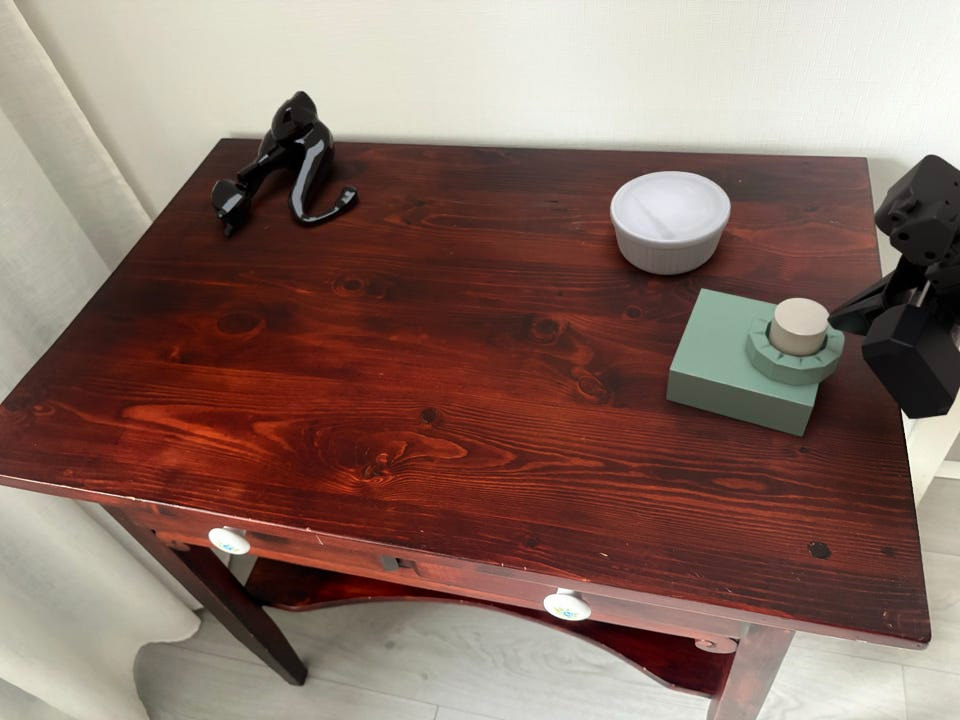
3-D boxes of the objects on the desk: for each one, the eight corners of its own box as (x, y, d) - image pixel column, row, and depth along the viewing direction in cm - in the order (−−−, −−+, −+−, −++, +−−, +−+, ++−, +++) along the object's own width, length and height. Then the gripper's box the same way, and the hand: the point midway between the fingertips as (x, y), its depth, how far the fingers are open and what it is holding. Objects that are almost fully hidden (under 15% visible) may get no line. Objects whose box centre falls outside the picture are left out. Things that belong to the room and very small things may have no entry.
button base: (835, 351, 65) (853, 302, 60) (815, 441, 59) (833, 393, 55) (696, 319, 69) (703, 270, 65) (665, 399, 64) (671, 352, 59)
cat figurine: (391, 185, 93) (301, 292, 87) (301, 135, 95) (208, 234, 89) (386, 131, 84) (285, 246, 78) (287, 77, 86) (181, 183, 80)
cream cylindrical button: (826, 327, 60) (834, 304, 58) (817, 363, 57) (825, 340, 55) (774, 315, 61) (779, 292, 59) (763, 350, 59) (769, 327, 57)
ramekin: (589, 261, 76) (589, 220, 72) (641, 200, 81) (643, 159, 78) (693, 298, 71) (699, 256, 67) (741, 230, 76) (749, 187, 73)
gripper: (1037, 63, 46) (814, 170, 59) (957, 241, 37) (714, 320, 50) (1125, 204, 48) (891, 276, 61) (1070, 405, 39) (809, 439, 52)
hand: (831, 321), depth 56 cm, fingers closed
